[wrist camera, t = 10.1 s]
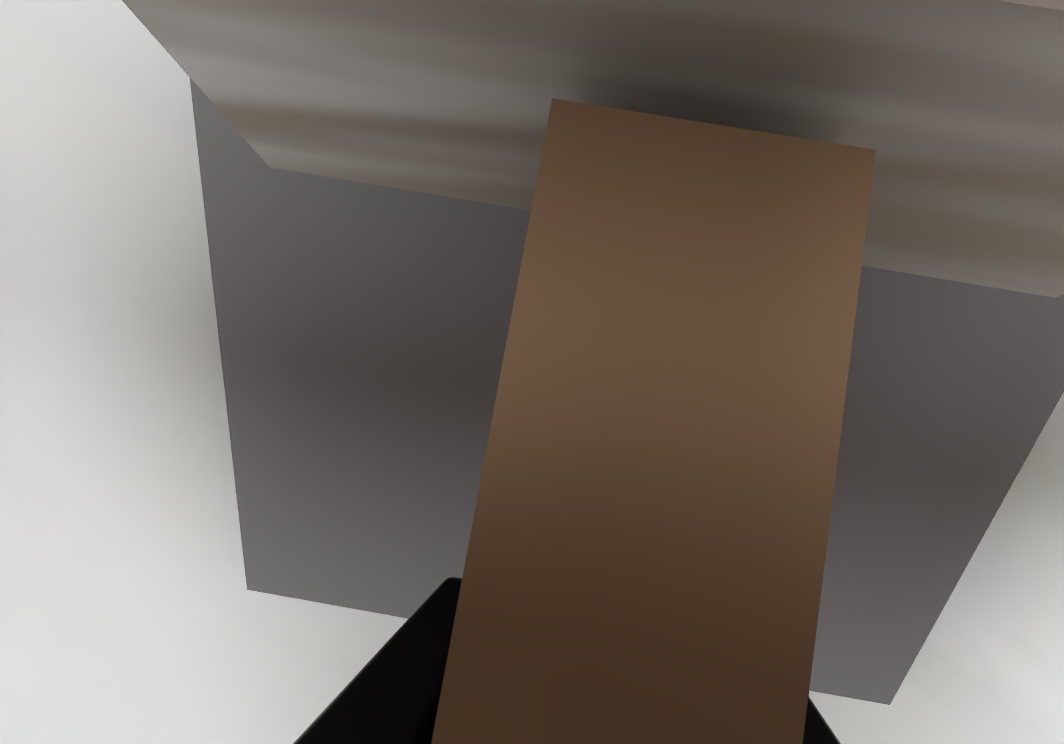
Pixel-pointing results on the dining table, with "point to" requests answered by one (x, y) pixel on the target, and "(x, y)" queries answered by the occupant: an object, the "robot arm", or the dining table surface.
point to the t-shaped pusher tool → (663, 296)
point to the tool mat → (472, 382)
